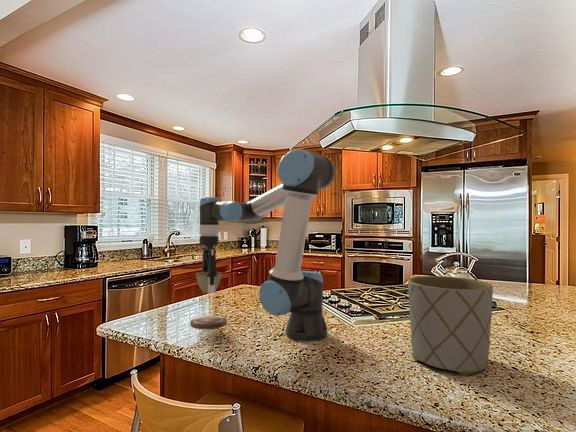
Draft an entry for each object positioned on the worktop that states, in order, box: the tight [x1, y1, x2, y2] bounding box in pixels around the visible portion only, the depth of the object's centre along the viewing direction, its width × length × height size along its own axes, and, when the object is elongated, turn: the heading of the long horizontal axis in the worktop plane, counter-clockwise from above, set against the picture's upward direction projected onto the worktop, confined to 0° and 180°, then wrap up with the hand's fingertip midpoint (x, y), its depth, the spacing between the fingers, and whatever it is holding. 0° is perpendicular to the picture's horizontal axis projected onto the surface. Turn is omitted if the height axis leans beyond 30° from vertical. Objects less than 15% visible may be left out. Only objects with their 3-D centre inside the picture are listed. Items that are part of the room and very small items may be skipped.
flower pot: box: [195, 271, 222, 293], centre depth 140 cm, size 10×10×7 cm
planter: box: [407, 275, 494, 377], centre depth 103 cm, size 23×23×24 cm
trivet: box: [190, 314, 227, 329], centre depth 139 cm, size 14×14×2 cm
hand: (208, 290), depth 140 cm, fingers closed on flower pot, 10 cm apart
